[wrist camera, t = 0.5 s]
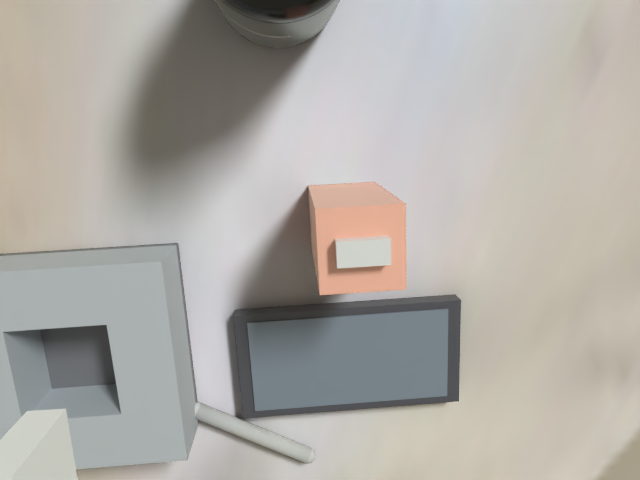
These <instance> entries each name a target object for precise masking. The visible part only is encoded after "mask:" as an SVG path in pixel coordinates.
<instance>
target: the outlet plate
mask: <svg viewBox="0 0 640 480" xmlns="http://www.w3.org/2000/svg"><path fill="white" fill-rule="evenodd" d="M196 402H197V395H196V386H195V378H194V370H193V362H192V354H191V345H190V337H189V329H188V321H187V312H186V304H185V296H184V288H183V280H182V271H181V263H180V255H179V247H178V243H171V244H155V245H139V246H123V247H107V248H91V249H75V250H59V251H43V252H26V253H10V254H0V440H1V439H2V437H3V436H4V435H5V434H6V433H7V432H8V431H9V430H10V429H11V428H12V427H13V426H14V424H15V423H16V422H17V421H18V420H19V419H20V418H21V417H22V416H23V415H24V414H25V413H26V412H27V411H34V410H51V409H66V412H67V418H68V424H69V430H70V436H71V442H72V448H73V454H74V460H75V466H76V469H88V468H100V467H112V466H124V465H136V464H148V463H160V462H172V461H185V460H188V456H189V453H190V450H191V446H192V443H193V440H194V436H195V433H196V430H197V426H198V423H199V420H197V419H196V417H195V404H196Z"/></svg>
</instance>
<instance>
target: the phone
mask: <svg viewBox="0 0 640 480" xmlns="http://www.w3.org/2000/svg"><path fill="white" fill-rule="evenodd" d="M460 311H461V300H460V299H459V298H458V297H457V296H456V295H443V296H428V297H414V298H399V299H385V300H370V301H356V302H341V303H327V304H312V305H297V306H283V307H268V308H254V309H239V310H235V312H234V315H233V318H234V328H235V339H236V349H237V359H238V369H239V379H240V390H241V400H242V410H243V418H252V417H265V416H277V415H290V414H303V413H315V412H328V411H340V410H353V409H366V408H378V407H391V406H403V405H416V404H429V403H441V402H454V401H459V363H460Z"/></svg>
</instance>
